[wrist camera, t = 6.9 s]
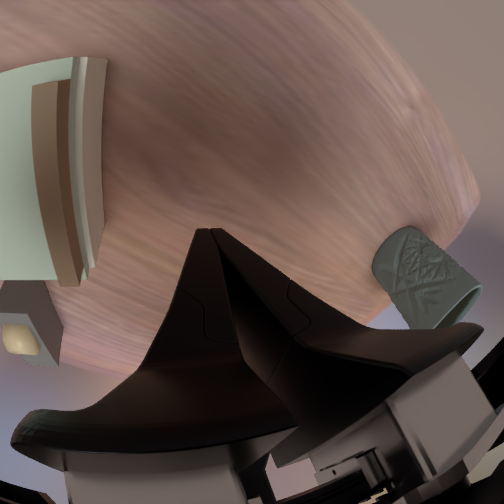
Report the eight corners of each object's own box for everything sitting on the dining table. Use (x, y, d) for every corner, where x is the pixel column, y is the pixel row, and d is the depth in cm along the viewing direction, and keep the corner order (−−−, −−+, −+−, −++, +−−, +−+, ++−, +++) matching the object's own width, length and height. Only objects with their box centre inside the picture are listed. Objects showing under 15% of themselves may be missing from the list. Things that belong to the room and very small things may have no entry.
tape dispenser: (63, 327, 23) (57, 380, 19) (34, 326, 22) (25, 377, 17) (41, 271, 19) (23, 330, 14) (8, 271, 17) (-13, 327, 13)
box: (104, 223, 19) (95, 267, 15) (-29, 231, 14) (-53, 269, 10) (107, 59, 12) (87, 56, 8) (-48, 96, 7) (-87, 114, 3)
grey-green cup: (408, 208, 28) (480, 275, 19) (430, 238, 34) (484, 294, 25) (353, 271, 32) (410, 349, 23) (386, 289, 37) (432, 349, 28)
